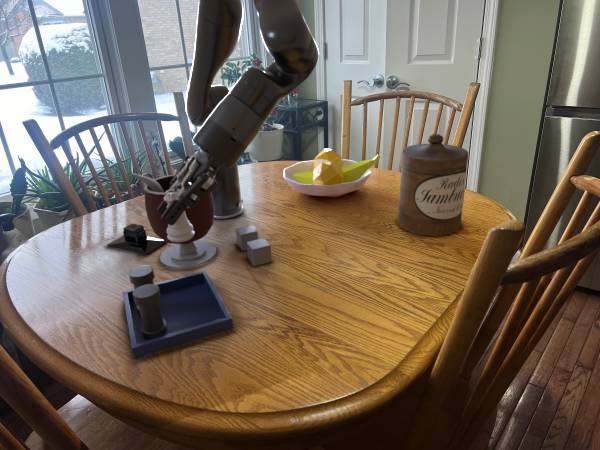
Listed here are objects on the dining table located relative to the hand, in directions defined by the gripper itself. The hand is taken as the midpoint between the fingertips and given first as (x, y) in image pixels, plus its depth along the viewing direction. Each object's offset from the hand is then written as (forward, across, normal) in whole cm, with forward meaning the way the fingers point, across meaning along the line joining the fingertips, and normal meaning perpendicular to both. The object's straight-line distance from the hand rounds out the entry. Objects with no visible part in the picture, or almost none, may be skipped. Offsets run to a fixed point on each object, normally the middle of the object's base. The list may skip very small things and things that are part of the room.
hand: (164, 217), depth 69 cm
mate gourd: (+10, -22, +17) cm, 29 cm away
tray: (+14, 0, +12) cm, 19 cm away
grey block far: (0, -20, +26) cm, 33 cm away
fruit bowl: (-24, -43, +51) cm, 71 cm away
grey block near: (0, -12, +26) cm, 29 cm away
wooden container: (-30, -9, +57) cm, 65 cm away
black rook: (+16, -4, +9) cm, 19 cm away
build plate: (+16, -34, +10) cm, 39 cm away
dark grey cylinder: (+16, +4, +9) cm, 19 cm away
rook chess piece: (+2, 0, +4) cm, 5 cm away
